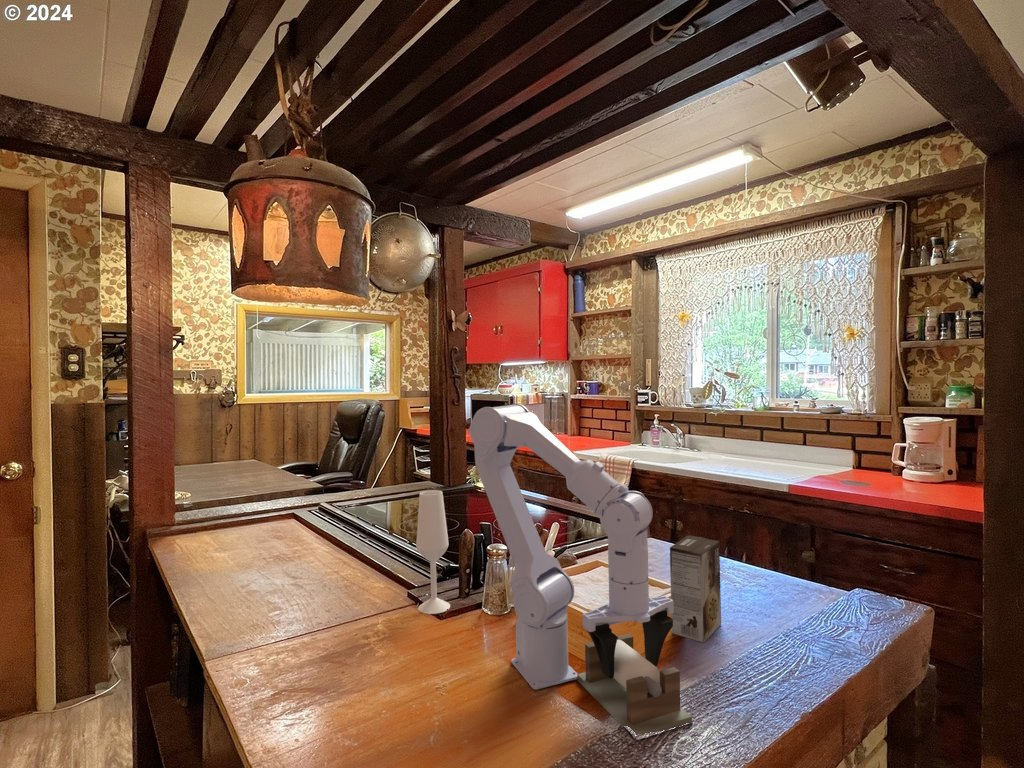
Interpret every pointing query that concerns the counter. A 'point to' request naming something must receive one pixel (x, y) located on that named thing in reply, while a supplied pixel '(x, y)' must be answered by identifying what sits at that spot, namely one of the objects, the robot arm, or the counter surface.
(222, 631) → the counter surface
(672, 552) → the coffee box
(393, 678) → the counter surface
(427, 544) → the champagne flute
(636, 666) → the paper roll
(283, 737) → the counter surface
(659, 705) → the roll holder
